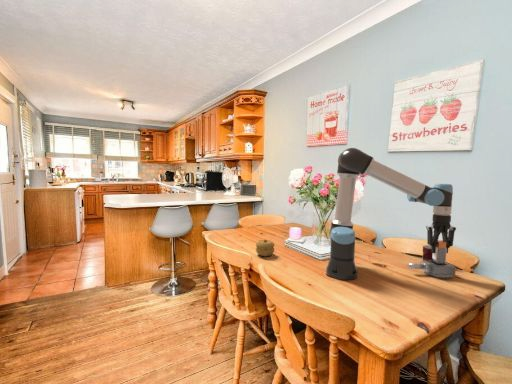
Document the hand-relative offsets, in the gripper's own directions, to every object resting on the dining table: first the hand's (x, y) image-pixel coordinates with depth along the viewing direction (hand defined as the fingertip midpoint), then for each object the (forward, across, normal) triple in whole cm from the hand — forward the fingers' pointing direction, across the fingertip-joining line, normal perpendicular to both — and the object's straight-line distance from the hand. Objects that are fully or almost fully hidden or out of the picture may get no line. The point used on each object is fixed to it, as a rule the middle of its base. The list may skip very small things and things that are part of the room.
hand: (439, 259), depth 131 cm
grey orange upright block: (+2, 0, 0) cm, 2 cm away
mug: (+8, +4, +14) cm, 17 cm away
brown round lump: (+8, -90, +23) cm, 93 cm away
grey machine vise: (+8, -4, 0) cm, 9 cm away
